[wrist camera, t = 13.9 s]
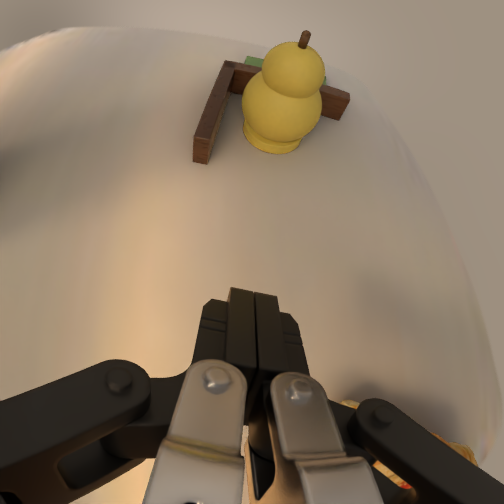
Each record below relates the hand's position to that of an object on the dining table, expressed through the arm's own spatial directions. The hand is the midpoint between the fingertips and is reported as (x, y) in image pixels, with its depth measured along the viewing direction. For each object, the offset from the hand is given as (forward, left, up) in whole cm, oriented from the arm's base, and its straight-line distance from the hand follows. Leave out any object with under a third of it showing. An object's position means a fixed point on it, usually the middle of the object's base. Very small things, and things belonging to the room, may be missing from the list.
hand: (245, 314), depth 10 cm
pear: (+1, +18, -10) cm, 21 cm away
